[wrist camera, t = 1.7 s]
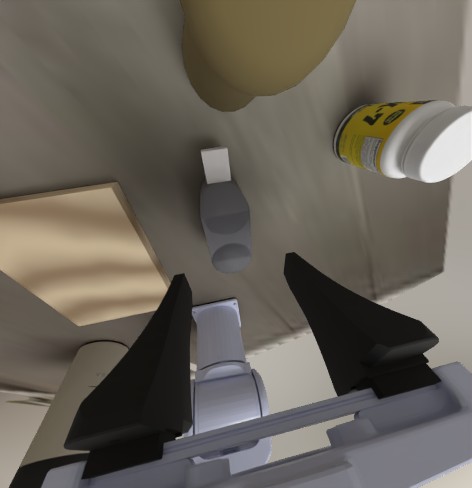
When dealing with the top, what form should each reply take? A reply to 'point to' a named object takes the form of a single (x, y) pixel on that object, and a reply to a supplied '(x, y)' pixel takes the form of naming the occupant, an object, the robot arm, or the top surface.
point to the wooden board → (81, 253)
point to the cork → (256, 45)
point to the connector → (224, 214)
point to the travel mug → (66, 413)
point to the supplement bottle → (407, 139)
